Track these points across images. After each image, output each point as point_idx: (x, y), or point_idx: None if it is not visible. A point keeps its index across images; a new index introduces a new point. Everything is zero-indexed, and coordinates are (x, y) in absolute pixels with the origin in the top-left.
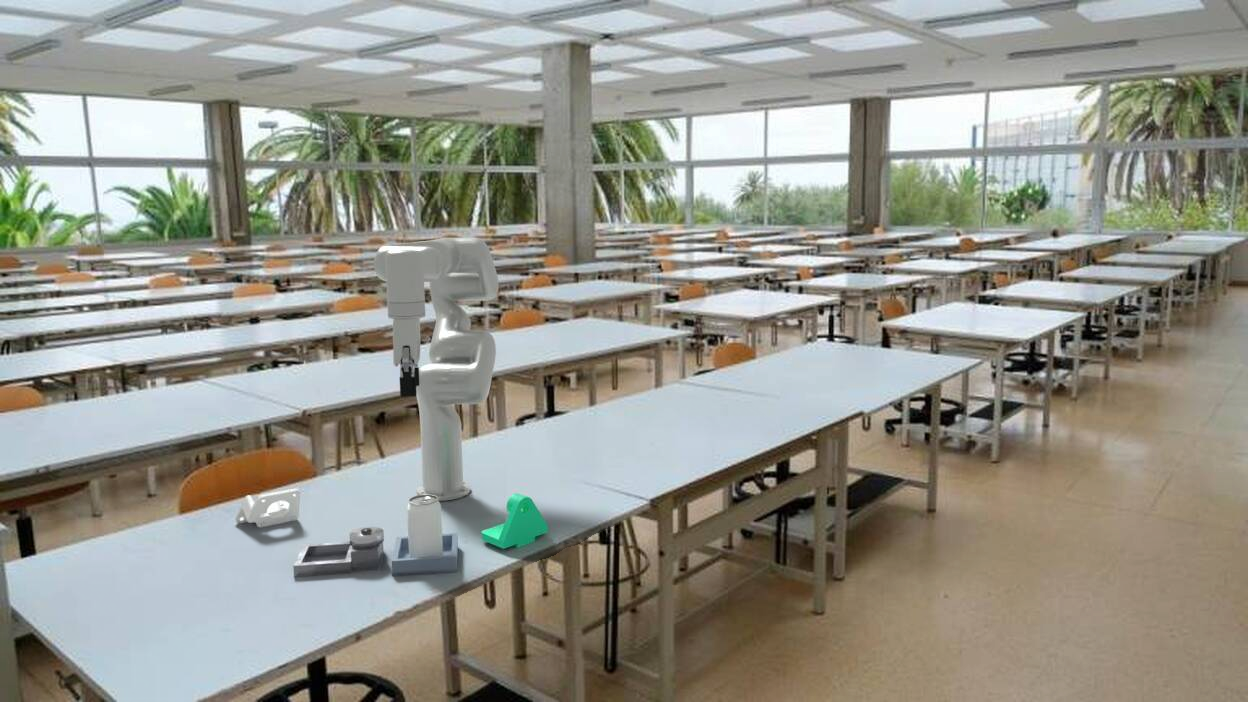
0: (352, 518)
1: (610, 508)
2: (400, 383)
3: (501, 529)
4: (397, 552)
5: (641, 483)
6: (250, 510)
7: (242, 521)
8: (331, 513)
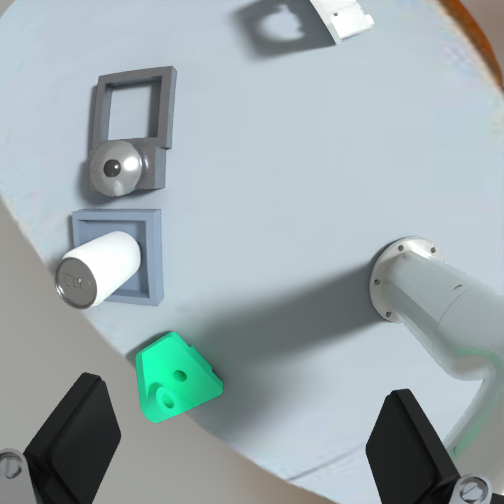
0: (327, 125)
1: (268, 458)
2: (48, 424)
3: (177, 362)
4: (96, 218)
5: (336, 479)
6: None
7: None
8: (358, 92)
